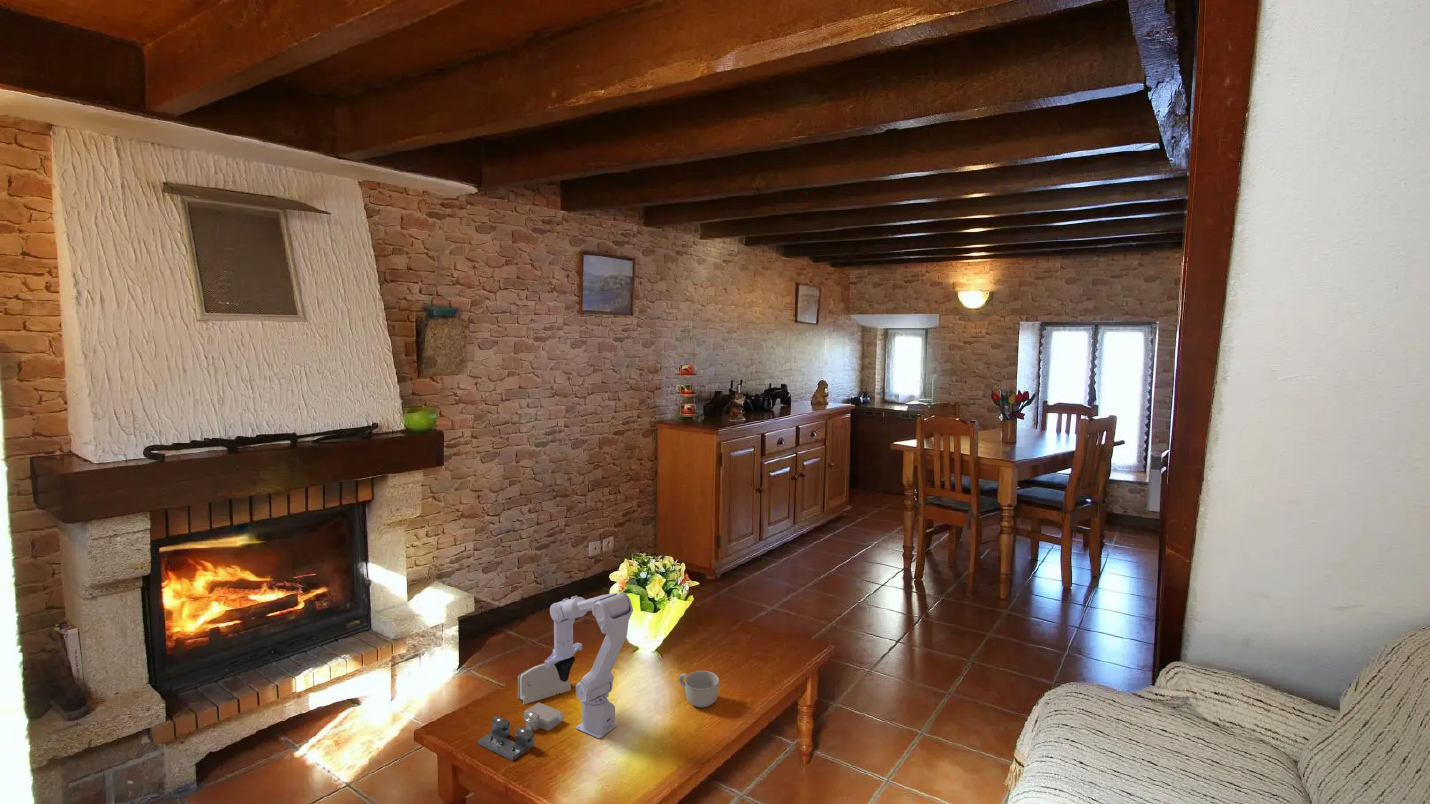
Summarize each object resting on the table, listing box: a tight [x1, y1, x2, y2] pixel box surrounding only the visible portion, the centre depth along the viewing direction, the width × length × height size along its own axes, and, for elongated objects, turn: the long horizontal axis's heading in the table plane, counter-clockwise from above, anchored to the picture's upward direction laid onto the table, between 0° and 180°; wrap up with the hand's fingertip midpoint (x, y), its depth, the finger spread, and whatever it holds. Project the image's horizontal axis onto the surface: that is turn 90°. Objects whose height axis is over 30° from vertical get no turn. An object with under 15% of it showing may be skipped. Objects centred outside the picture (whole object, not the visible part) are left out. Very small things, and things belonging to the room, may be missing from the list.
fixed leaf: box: [477, 715, 535, 762], centre depth 199 cm, size 14×8×5 cm, turn 59°
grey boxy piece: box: [523, 701, 564, 732], centre depth 210 cm, size 10×9×5 cm
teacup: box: [678, 670, 720, 709], centre depth 224 cm, size 14×11×8 cm
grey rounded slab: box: [517, 662, 572, 705], centre depth 228 cm, size 17×5×10 cm, turn 125°
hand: (563, 680), depth 219 cm, fingers closed
